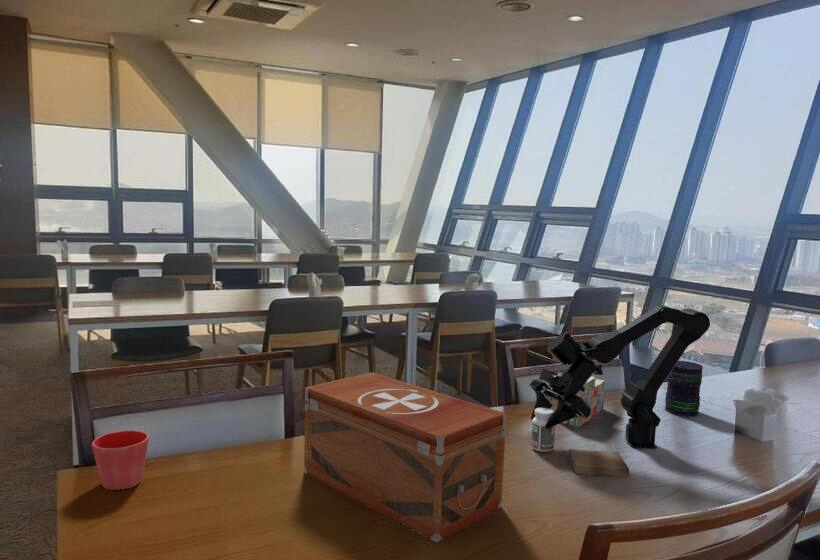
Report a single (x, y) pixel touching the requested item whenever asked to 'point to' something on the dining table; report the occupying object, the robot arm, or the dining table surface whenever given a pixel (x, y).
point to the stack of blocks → (590, 400)
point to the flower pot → (120, 458)
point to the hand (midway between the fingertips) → (539, 423)
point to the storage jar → (684, 389)
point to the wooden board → (598, 463)
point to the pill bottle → (542, 431)
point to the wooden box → (406, 451)
